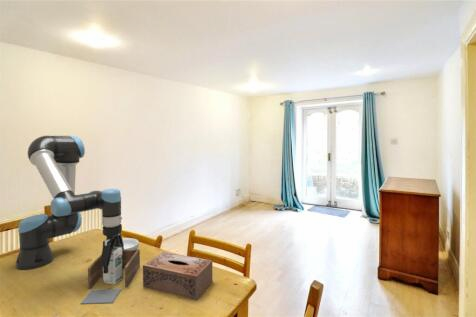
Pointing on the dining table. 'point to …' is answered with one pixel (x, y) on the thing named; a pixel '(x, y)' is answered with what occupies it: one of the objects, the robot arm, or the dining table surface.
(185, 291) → the tissue box cover
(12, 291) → the dining table surface
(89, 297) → the grey mat
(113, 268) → the syrup box
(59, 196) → the robot arm
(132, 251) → the open-sided crate
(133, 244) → the cereal bowl
